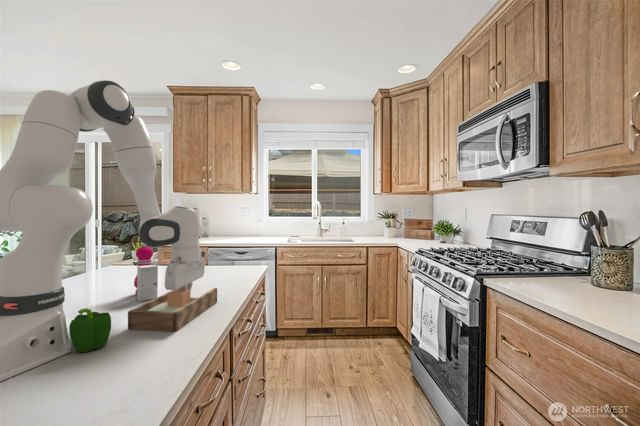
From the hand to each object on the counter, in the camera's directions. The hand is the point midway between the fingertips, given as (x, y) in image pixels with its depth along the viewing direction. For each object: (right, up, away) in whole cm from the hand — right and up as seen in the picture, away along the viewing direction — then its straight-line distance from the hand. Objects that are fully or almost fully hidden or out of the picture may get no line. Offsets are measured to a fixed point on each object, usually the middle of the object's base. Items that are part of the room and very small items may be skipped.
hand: (186, 296), depth 108 cm
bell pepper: (-11, -5, -30) cm, 32 cm away
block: (0, -1, -5) cm, 5 cm away
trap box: (0, -4, -5) cm, 6 cm away
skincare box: (-19, -4, +12) cm, 23 cm away
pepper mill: (-24, -4, +18) cm, 30 cm away
